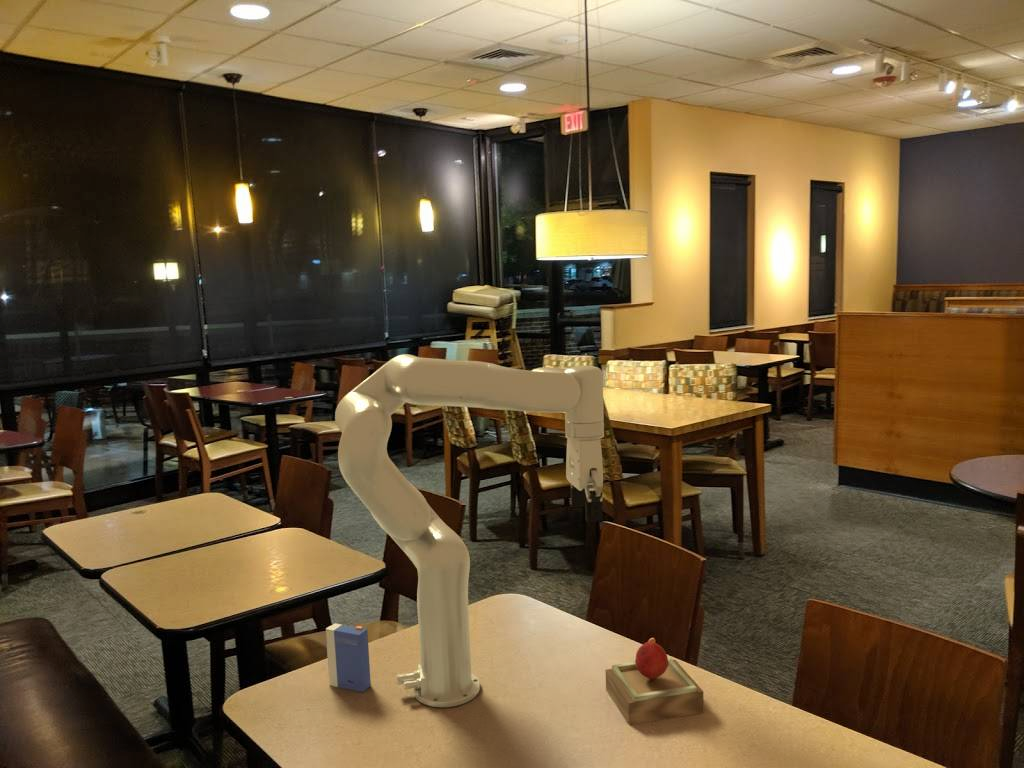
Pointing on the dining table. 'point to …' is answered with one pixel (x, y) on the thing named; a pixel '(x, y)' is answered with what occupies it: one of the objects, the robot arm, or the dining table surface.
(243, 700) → the dining table surface
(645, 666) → the onion
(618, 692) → the plinth
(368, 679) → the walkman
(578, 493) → the robot arm
